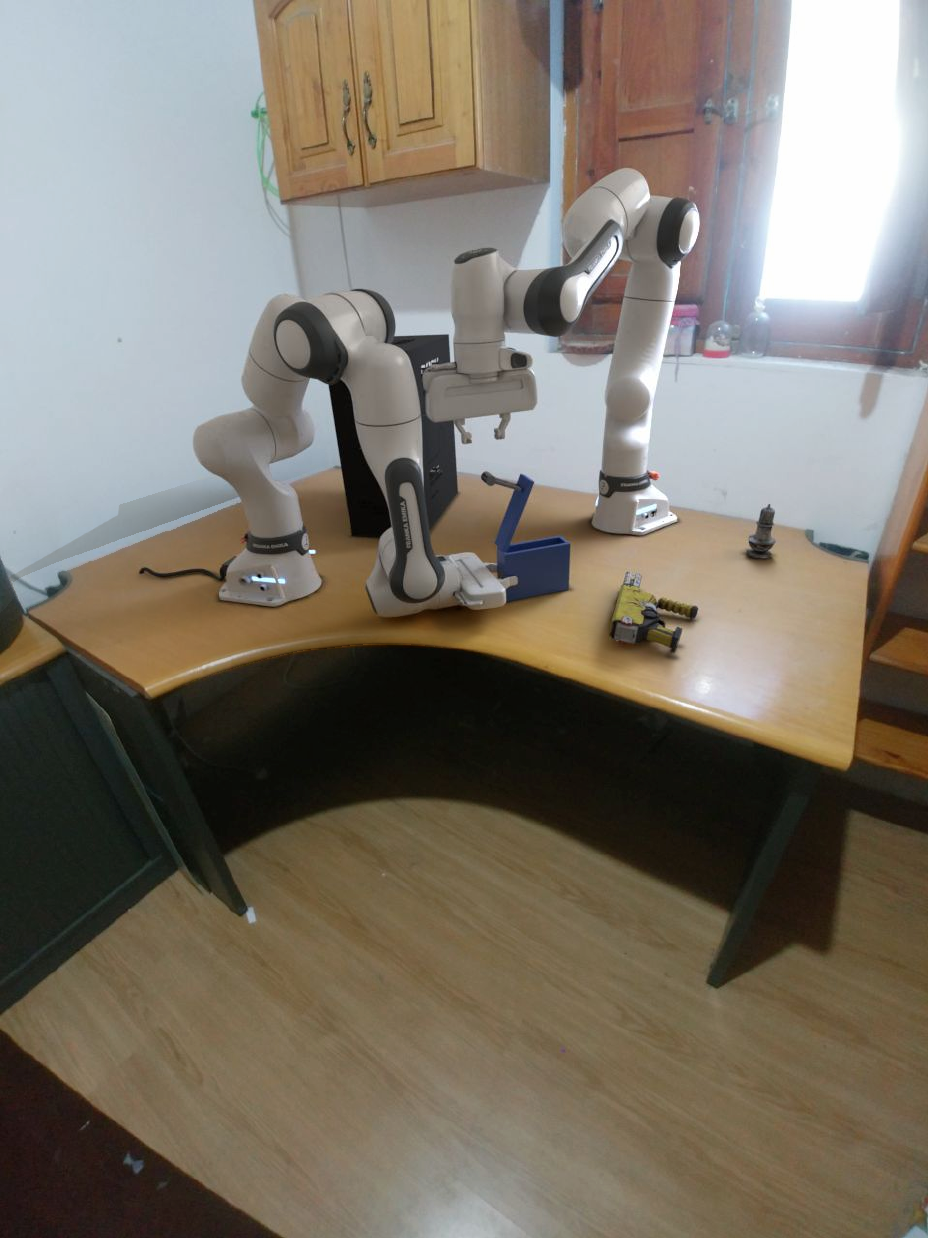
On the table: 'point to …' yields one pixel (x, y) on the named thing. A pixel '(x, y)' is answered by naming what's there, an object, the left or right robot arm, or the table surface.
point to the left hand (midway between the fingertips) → (510, 573)
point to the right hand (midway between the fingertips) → (483, 440)
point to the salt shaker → (762, 535)
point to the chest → (535, 567)
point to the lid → (510, 506)
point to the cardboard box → (437, 447)
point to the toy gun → (645, 616)
